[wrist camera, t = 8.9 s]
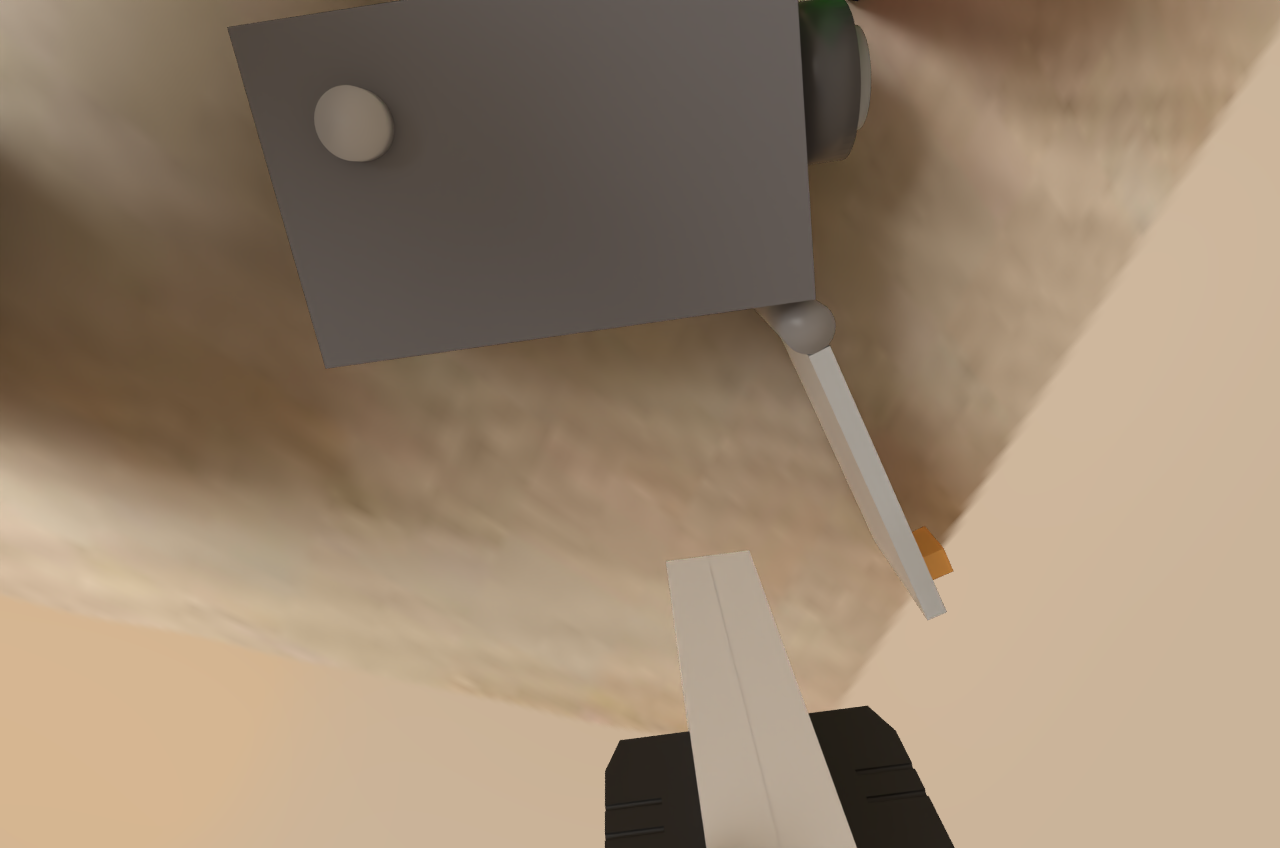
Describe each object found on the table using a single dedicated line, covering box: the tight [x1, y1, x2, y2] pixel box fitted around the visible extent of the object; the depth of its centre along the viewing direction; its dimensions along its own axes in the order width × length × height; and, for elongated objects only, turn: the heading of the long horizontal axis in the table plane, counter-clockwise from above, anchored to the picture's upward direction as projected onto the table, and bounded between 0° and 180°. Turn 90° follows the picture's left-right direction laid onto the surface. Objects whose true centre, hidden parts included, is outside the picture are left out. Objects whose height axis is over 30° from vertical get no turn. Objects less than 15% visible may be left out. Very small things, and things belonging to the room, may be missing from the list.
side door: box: [754, 300, 953, 620], centre depth 30 cm, size 14×2×6 cm, turn 27°
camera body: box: [227, 0, 871, 369], centre depth 25 cm, size 19×10×9 cm, turn 98°
